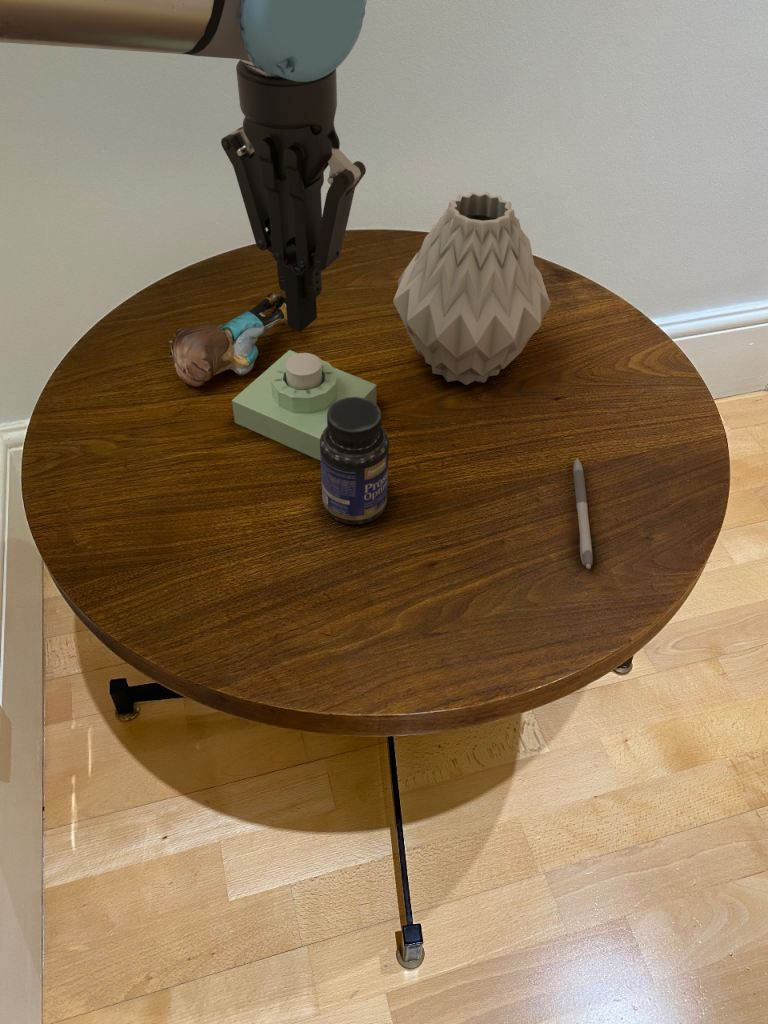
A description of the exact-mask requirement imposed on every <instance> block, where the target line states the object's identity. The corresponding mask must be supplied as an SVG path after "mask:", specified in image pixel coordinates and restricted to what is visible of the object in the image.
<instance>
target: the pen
mask: <svg viewBox="0 0 768 1024" xmlns="http://www.w3.org/2000/svg"><path fill="white" fill-rule="evenodd" d="M572 469H573V471H572V472H573V473H572V475H573V484H574V493H575V495H574V496H575V504H576V505H575V506H576V510H577V520H578V528H579V529H578V530H579V552H580V553H579V554H580V560H581V563H582V565H583V566H584V567H585V568H586V570H591V569H592V566H593V563H594V562H593V561H594V556H593V546H592V538H591V531H590V521H589V520H590V519H589V511H588V499H587V490H586V482H585V472H584V468H583V464H582V462H581V461H580V459H579V458H575V460H574V462H573V468H572Z"/></svg>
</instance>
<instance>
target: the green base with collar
mask: <svg viewBox="0 0 768 1024" xmlns="http://www.w3.org/2000/svg"><path fill="white" fill-rule="evenodd" d="M295 354H298V352H296V351H293V350H291V349H288V350H287V351H286V352H285V353H284V354H283V355H281V356H280V357H279V358H278V359H277V360H276V361H275V362H274V363H272V364H271V365H270V366H269V367H268V368H267V369H266V370H265V371H264V372H262V373H261V374H260V375H259V376H258V377H257V378H256V379H254V380H253V381H252V382H251V383H250V384H248V385H247V386H246V387H245V388H244V389H243V390H242V391H240V392H239V393H238V394H237V395H236V396H235V397H234V398H233V399H231V404H232V405H231V406H232V411H233V419H234V420H233V421H234V423H235V424H237V425H239V426H241V427H243V428H246V429H248V430H250V431H253V432H255V433H257V434H258V435H261V436H264V437H266V438H268V439H270V440H272V441H276V442H277V443H280V444H282V445H283V446H287V447H288V448H290V449H293V450H295V451H298V452H299V453H302V454H304V455H307V456H308V457H311V458H313V459H315V460H317V461H320V462H321V457H320V438H321V435H322V433H323V431H324V429H325V428H326V427H327V426H328V425H327V413H328V409H329V408H330V406H331V405H332V404H334V403H335V402H336V401H338V400H340V399H343V398H348V397H361V398H365V399H368V400H371V401H372V402H374V403H375V404H377V397H378V396H377V395H378V394H377V389H378V385H377V383H374V382H372V381H368V380H366V379H363V378H361V377H358V376H356V375H353V374H351V373H348V372H346V371H343V370H341V369H339V368H336V367H333V366H332V364H331V363H330V362H328V361H327V360H323V359H321V358H320V360H321V362H322V383H321V385H320V386H319V387H316V388H313V389H310V390H296V389H293V388H291V387H289V386H288V384H287V381H286V369H285V363H286V360H287V359H288V358H289V357H291V356H292V355H295Z"/></svg>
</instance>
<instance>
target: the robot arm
mask: <svg viewBox="0 0 768 1024" xmlns="http://www.w3.org/2000/svg"><path fill="white" fill-rule="evenodd" d="M366 5H367V0H0V43H3V44H4V43H5V44H18V45H19V44H20V45H21V44H22V45H34V46H48V47H49V46H50V47H66V48H82V49H97V50H114V51H129V52H142V53H143V52H145V53H160V54H175V55H188V56H193V57H204V58H206V57H207V58H218V59H234V60H238V62H237V63H236V66H235V69H236V81H237V89H238V90H237V91H238V101H239V108H240V111H241V113H242V114H243V115H244V118H243V121H242V126H241V127H238V128H237V129H235V130H234V131H232V132H231V133H229V134H227V135H226V136H224V137H222V138H221V141H220V144H221V147H222V149H223V151H224V152H225V154H226V156H227V158H228V160H229V162H230V164H231V165H232V168H233V171H234V173H235V177H236V181H237V185H238V187H239V191H240V194H241V198H242V200H243V204H244V207H245V211H246V214H247V218H248V221H249V224H250V228H251V231H252V232H251V233H252V235H253V238H254V242H255V244H256V247H257V248H258V249H259V250H260V251H266V250H267V251H268V252H270V253H271V254H272V257H273V259H274V261H276V268H277V278H278V286H279V288H280V290H281V291H284V296H285V297H284V298H286V310H287V323H288V326H287V327H288V328H289V329H291V328H292V329H291V330H294V331H297V332H299V333H301V332H303V331H304V330H305V329H306V328H307V327H309V326H310V325H311V324H312V323H313V322H315V320H316V319H318V310H317V297H318V296H320V295H321V293H322V290H323V285H322V283H323V282H322V272H323V271H325V270H326V269H327V268H328V267H329V266H331V264H333V263H334V262H336V261H337V260H338V259H339V258H340V257H341V253H342V249H343V245H344V240H345V237H346V232H347V227H348V222H349V218H350V213H351V209H352V204H353V200H354V195H355V190H356V187H357V186H358V184H360V182H361V180H362V179H363V178H364V176H365V175H366V173H367V168H366V166H365V164H364V163H363V162H362V161H359V160H355V161H354V162H353V163H352V161H351V160H350V159H349V158H348V157H347V156H346V155H345V154H344V153H343V152H342V151H341V150H340V148H341V147H340V146H341V143H340V137H339V135H338V133H337V130H336V127H335V118H336V111H337V108H338V89H337V88H338V87H337V86H338V85H337V84H338V83H337V82H338V81H337V69H338V68H339V66H341V65H342V64H343V63H344V61H345V60H346V59H347V58H348V57H349V55H350V54H351V52H352V51H353V49H354V47H355V45H356V43H357V41H358V39H359V36H360V35H361V32H362V27H363V23H364V18H365V15H366ZM328 167H329V174H328V178H327V183H328V184H329V187H328V190H327V191H326V196H325V201H324V204H323V205H324V206H323V205H322V187H323V186H324V183H325V174H324V173H325V171H326V170H327V168H328ZM322 206H323V207H322Z"/></svg>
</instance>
